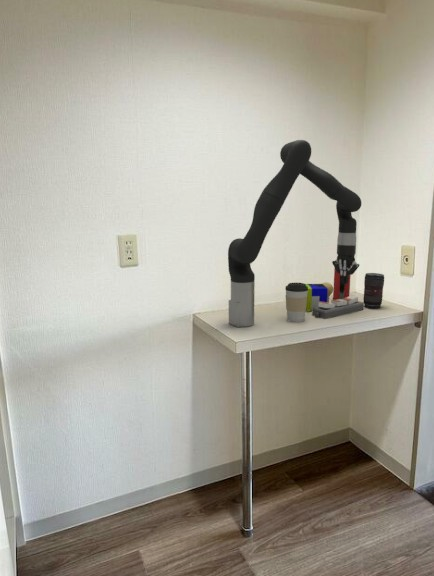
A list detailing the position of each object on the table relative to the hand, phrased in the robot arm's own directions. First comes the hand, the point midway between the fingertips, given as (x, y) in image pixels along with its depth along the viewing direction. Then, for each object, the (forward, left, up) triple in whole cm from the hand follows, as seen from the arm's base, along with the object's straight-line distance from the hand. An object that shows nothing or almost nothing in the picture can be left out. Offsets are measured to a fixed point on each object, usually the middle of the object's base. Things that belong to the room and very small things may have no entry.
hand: (344, 284), depth 180 cm
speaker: (+14, +13, -12) cm, 23 cm away
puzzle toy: (-7, +11, -12) cm, 18 cm away
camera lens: (+16, -3, -12) cm, 20 cm away
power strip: (-3, 0, -12) cm, 12 cm away
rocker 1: (-10, 0, -8) cm, 13 cm away
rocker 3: (+5, 0, -8) cm, 10 cm away
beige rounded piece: (+3, +13, -12) cm, 18 cm away
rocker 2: (-3, 0, -8) cm, 9 cm away
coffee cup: (-25, +3, -12) cm, 28 cm away
